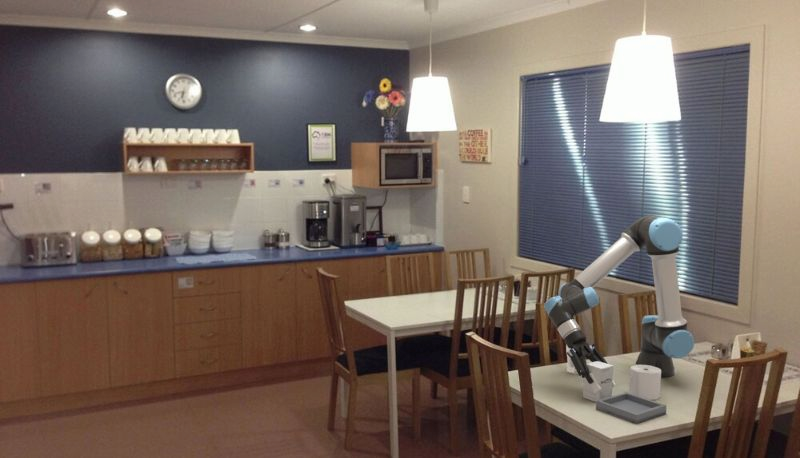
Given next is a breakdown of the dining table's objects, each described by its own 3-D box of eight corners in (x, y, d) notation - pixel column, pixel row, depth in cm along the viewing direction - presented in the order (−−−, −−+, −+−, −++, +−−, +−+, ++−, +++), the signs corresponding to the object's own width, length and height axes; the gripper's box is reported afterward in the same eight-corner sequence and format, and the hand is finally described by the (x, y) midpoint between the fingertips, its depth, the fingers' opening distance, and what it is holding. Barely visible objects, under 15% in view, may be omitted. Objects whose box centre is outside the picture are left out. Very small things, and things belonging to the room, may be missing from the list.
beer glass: (583, 375, 289) (584, 338, 288) (565, 373, 291) (566, 336, 289) (582, 369, 296) (584, 333, 295) (564, 368, 298) (566, 332, 296)
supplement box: (598, 403, 257) (600, 368, 255) (582, 397, 263) (583, 363, 261) (612, 399, 261) (614, 365, 260) (595, 393, 267) (597, 360, 266)
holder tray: (625, 400, 261) (626, 392, 260) (666, 413, 248) (666, 405, 247) (595, 409, 251) (596, 400, 251) (636, 423, 238) (636, 415, 238)
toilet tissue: (653, 390, 272) (655, 364, 271) (665, 402, 260) (667, 374, 259) (625, 390, 272) (626, 364, 271) (635, 401, 260) (637, 374, 259)
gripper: (584, 336, 278) (617, 389, 267) (547, 343, 266) (580, 399, 255) (595, 325, 273) (630, 378, 262) (559, 332, 262) (593, 388, 250)
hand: (605, 388), depth 259 cm, fingers closed on supplement box, 7 cm apart
